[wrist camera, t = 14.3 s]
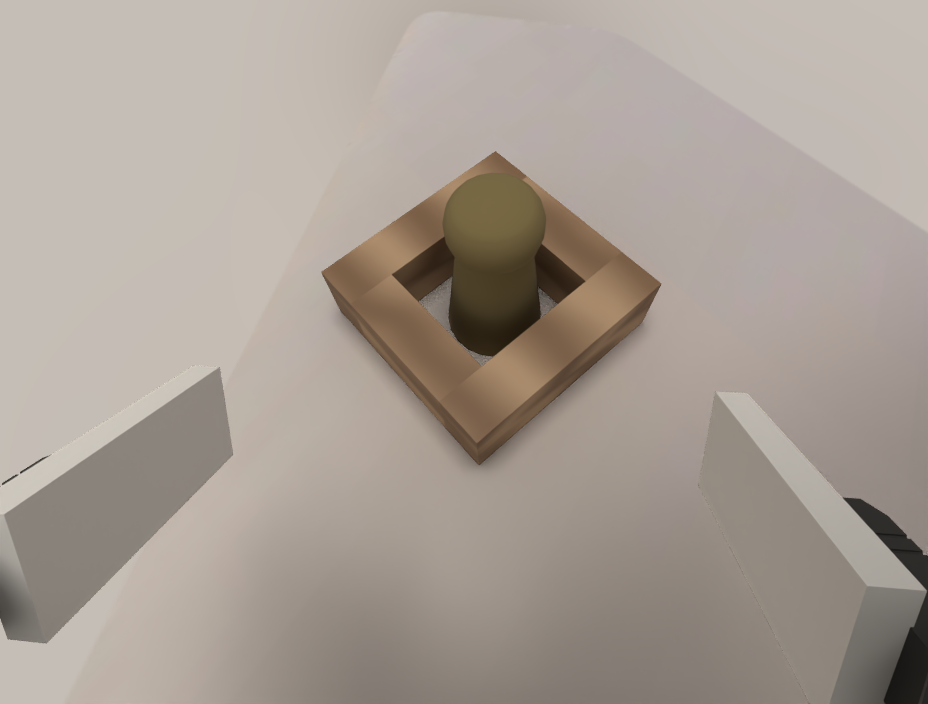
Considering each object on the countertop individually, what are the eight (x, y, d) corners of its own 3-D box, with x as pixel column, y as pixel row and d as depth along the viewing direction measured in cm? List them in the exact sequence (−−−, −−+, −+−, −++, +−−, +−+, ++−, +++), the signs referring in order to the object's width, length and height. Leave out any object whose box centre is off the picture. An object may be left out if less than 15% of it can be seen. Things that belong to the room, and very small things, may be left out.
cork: (449, 358, 35) (430, 255, 25) (448, 278, 37) (430, 156, 28) (544, 354, 35) (564, 249, 25) (537, 273, 37) (551, 149, 27)
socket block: (495, 198, 40) (495, 151, 36) (642, 321, 35) (661, 283, 31) (340, 309, 37) (321, 272, 33) (478, 465, 32) (476, 443, 28)
